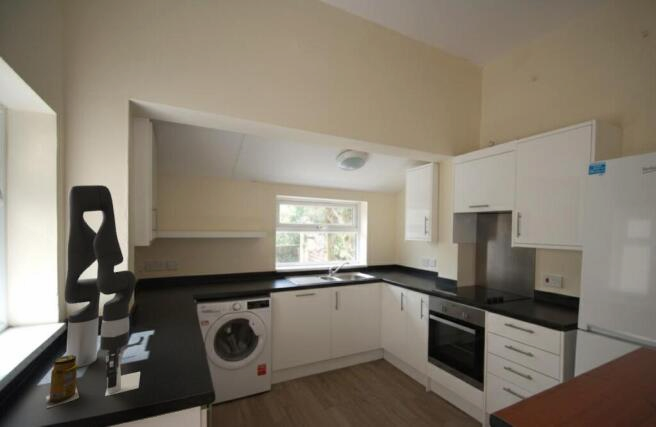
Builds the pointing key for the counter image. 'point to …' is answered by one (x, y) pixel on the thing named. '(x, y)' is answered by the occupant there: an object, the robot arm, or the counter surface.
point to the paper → (127, 383)
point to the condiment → (63, 381)
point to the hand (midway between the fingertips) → (113, 383)
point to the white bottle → (118, 385)
